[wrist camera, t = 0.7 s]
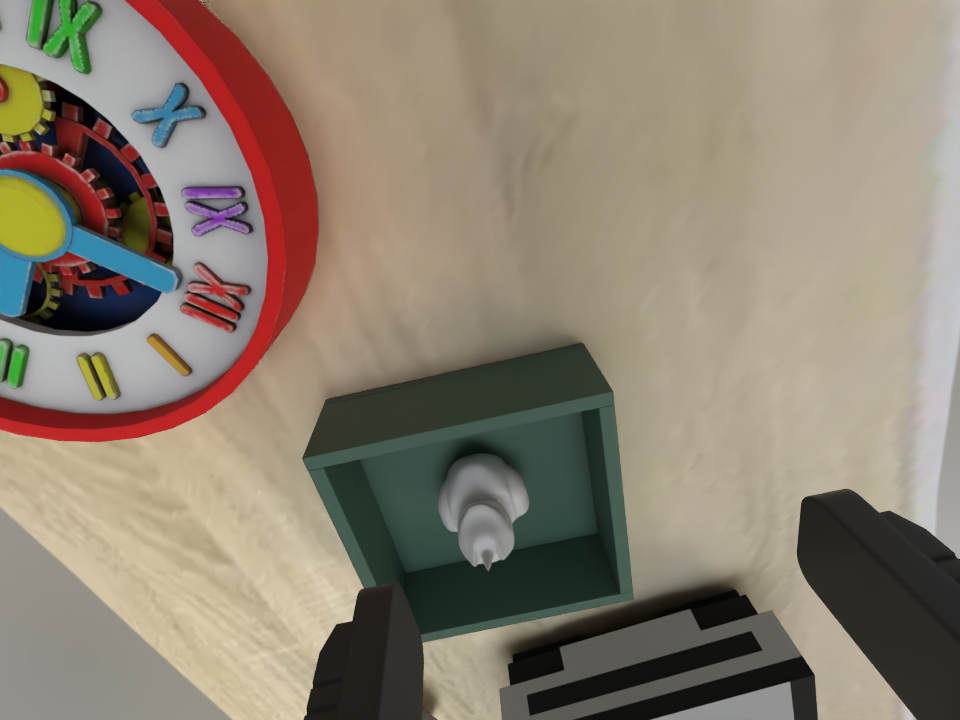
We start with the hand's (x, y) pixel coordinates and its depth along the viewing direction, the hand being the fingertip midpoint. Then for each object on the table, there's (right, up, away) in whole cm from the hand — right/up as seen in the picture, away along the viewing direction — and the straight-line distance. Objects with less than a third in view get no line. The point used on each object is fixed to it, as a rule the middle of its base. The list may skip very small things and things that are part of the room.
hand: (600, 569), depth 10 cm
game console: (+14, -29, +37) cm, 49 cm away
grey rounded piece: (-2, -4, +22) cm, 23 cm away
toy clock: (-20, +12, +14) cm, 27 cm away
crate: (-2, -3, +23) cm, 23 cm away
